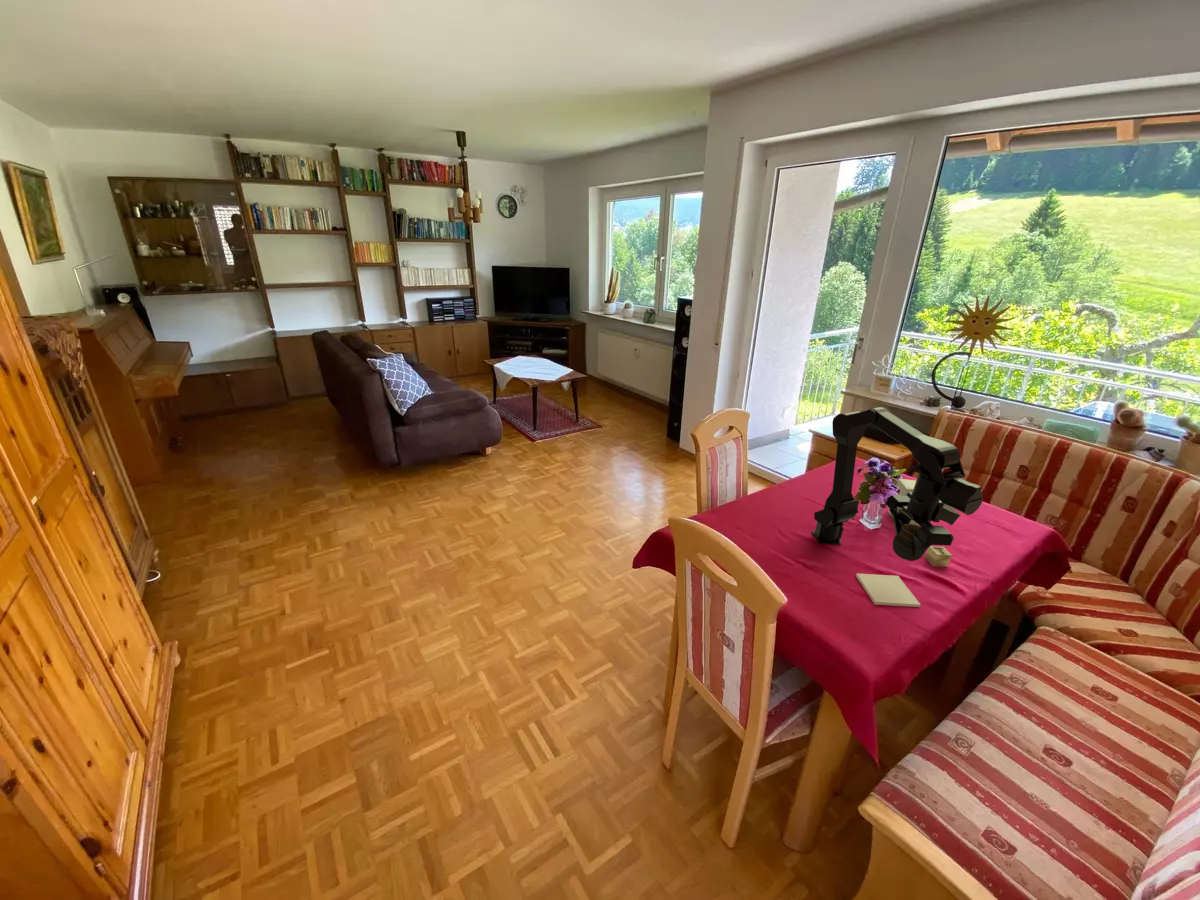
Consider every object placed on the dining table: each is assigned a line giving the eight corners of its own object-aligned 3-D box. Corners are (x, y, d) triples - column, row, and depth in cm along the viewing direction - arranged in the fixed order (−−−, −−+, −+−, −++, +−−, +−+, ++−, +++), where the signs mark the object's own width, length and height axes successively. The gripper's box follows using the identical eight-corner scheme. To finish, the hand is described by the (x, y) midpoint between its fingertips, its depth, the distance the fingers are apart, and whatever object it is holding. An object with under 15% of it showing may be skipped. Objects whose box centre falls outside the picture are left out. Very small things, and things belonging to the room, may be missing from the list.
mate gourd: (927, 566, 121) (940, 532, 117) (895, 563, 122) (906, 529, 118) (914, 548, 128) (926, 516, 124) (884, 546, 129) (894, 513, 125)
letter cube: (932, 566, 137) (937, 554, 136) (924, 557, 141) (929, 545, 139) (947, 567, 137) (952, 554, 136) (938, 558, 141) (943, 546, 139)
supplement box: (919, 526, 156) (932, 491, 151) (894, 523, 157) (906, 488, 152) (911, 514, 163) (923, 480, 157) (887, 511, 164) (898, 477, 159)
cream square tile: (874, 604, 122) (875, 601, 122) (855, 575, 132) (856, 573, 132) (919, 607, 122) (920, 604, 121) (897, 578, 132) (898, 575, 131)
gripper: (987, 515, 109) (963, 572, 115) (936, 476, 126) (918, 528, 132) (937, 513, 109) (916, 570, 115) (893, 475, 126) (877, 526, 132)
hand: (907, 547), depth 124 cm, fingers closed on mate gourd, 7 cm apart
